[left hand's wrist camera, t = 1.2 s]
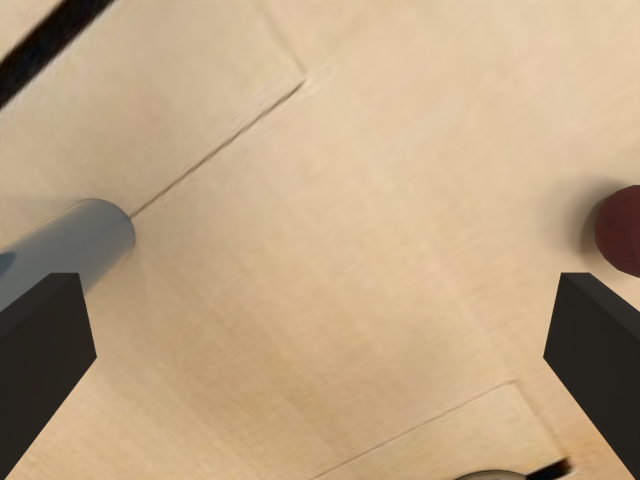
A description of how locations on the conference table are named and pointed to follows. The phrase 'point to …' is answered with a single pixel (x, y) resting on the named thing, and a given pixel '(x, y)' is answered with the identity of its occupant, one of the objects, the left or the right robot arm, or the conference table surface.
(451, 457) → the conference table surface
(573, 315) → the left robot arm
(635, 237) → the dark maroon ball
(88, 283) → the bottle
